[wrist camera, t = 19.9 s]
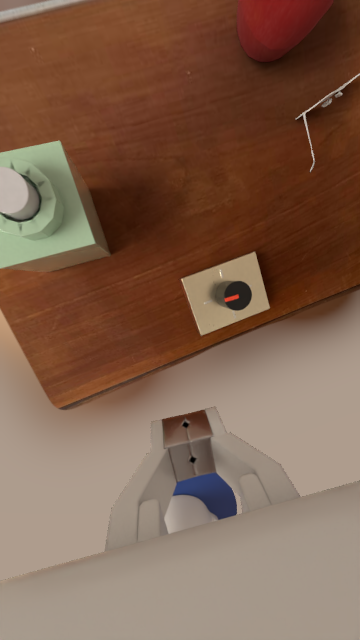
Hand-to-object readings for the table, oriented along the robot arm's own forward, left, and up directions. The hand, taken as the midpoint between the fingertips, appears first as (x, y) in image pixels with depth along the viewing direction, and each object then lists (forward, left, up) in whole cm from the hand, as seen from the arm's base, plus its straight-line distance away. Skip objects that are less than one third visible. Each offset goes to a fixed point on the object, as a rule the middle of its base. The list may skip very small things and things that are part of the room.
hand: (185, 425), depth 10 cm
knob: (+6, -11, -26) cm, 29 cm away
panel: (+6, -11, -29) cm, 32 cm away
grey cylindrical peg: (+12, +15, -15) cm, 24 cm away
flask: (+12, +15, -29) cm, 34 cm away
